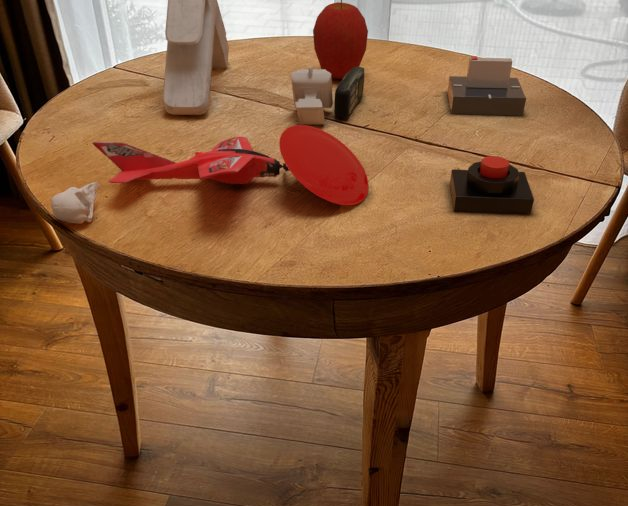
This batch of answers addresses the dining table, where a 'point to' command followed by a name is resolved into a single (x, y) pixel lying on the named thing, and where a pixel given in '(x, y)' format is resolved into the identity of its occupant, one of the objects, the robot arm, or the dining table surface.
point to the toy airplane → (193, 163)
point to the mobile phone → (349, 92)
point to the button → (494, 167)
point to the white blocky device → (311, 94)
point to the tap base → (485, 98)
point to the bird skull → (75, 203)
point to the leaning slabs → (192, 54)
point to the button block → (490, 191)
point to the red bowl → (323, 165)
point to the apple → (340, 38)
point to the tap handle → (488, 72)
